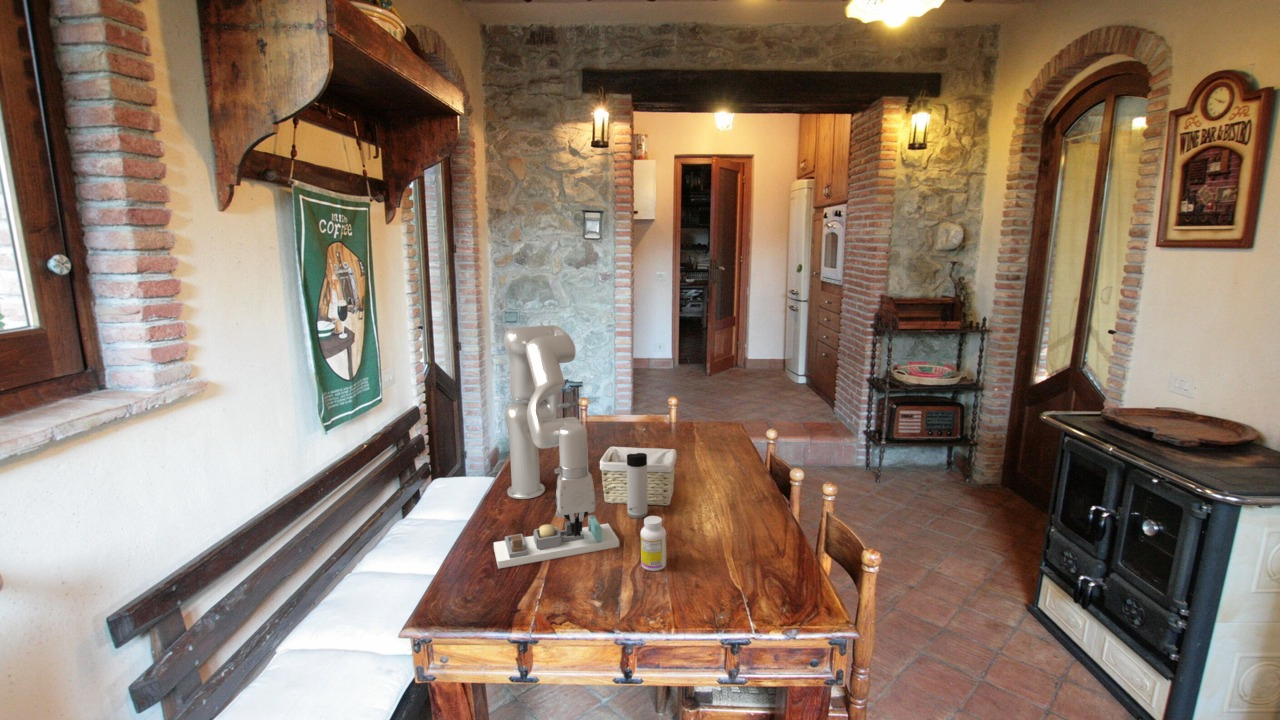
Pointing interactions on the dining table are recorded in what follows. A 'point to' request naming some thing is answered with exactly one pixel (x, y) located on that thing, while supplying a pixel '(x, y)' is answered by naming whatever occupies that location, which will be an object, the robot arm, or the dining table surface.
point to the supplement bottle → (653, 544)
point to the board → (552, 545)
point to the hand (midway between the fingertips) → (576, 533)
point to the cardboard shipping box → (517, 543)
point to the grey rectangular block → (568, 529)
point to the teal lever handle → (595, 528)
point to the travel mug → (637, 485)
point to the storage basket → (657, 474)
